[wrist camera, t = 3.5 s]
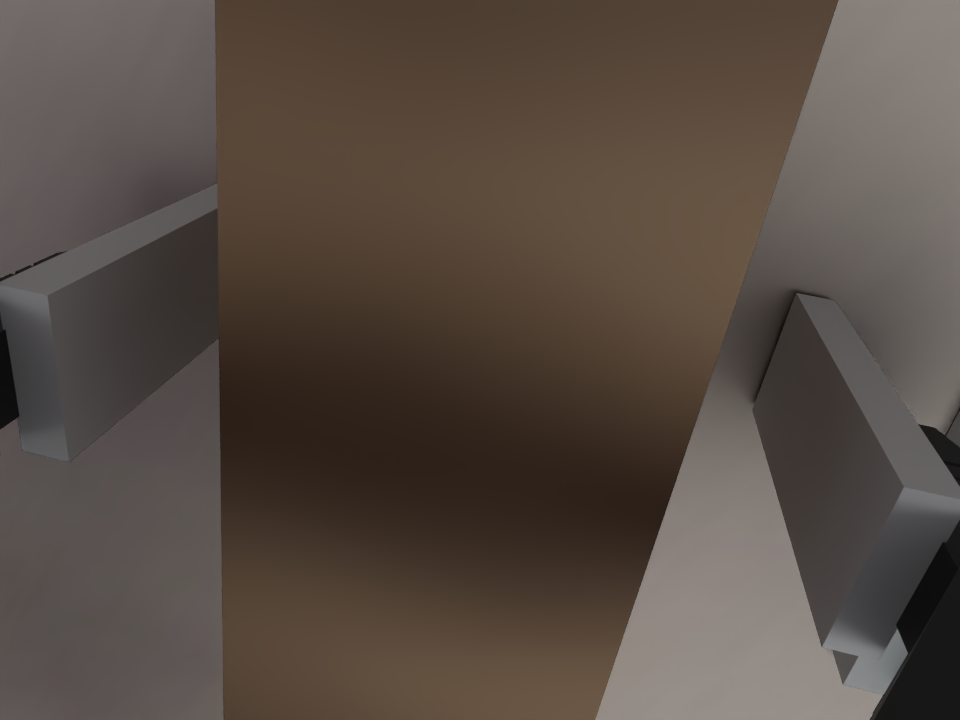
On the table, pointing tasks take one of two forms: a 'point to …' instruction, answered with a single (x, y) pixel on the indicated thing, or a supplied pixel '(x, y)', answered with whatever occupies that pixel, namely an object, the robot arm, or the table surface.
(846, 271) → the table surface
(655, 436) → the brown wooden bar
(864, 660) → the peg frame
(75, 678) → the table surface
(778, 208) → the table surface
